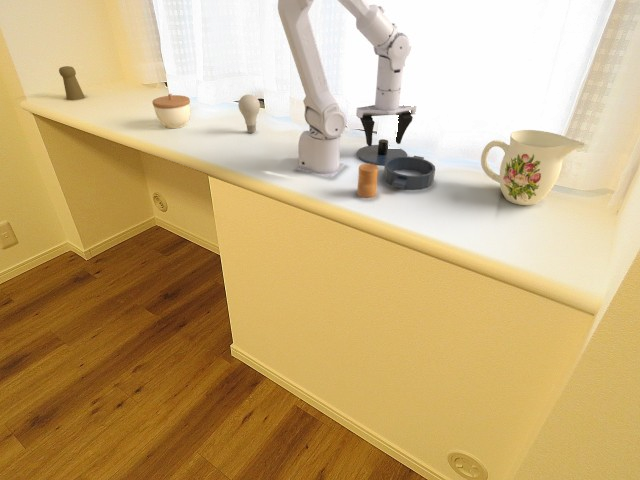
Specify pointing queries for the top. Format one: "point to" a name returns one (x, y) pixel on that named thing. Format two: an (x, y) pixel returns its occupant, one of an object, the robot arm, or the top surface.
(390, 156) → the lid
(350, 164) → the top surface
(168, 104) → the trinket box
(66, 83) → the grey-brown tapered knobbed cylinder
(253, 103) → the lightbulb
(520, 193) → the pitcher
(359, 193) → the peg
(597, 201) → the top surface
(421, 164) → the pot
